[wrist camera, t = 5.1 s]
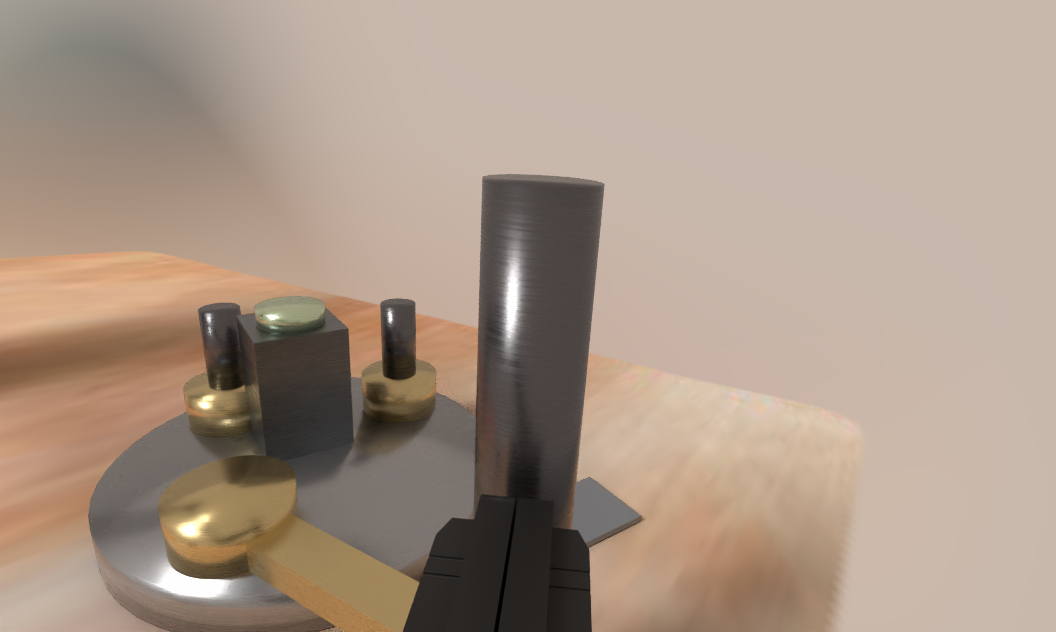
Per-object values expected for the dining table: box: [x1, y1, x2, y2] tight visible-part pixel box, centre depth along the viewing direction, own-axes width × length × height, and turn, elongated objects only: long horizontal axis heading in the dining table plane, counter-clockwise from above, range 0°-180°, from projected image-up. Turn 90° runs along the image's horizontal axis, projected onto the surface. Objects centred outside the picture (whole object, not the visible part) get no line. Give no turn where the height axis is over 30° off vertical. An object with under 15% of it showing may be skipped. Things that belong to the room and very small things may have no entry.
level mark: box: [572, 477, 641, 547], centre depth 27 cm, size 4×4×1 cm
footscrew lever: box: [158, 174, 604, 632], centre depth 16 cm, size 15×4×14 cm, turn 60°
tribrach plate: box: [89, 296, 476, 632], centre depth 26 cm, size 17×17×9 cm
